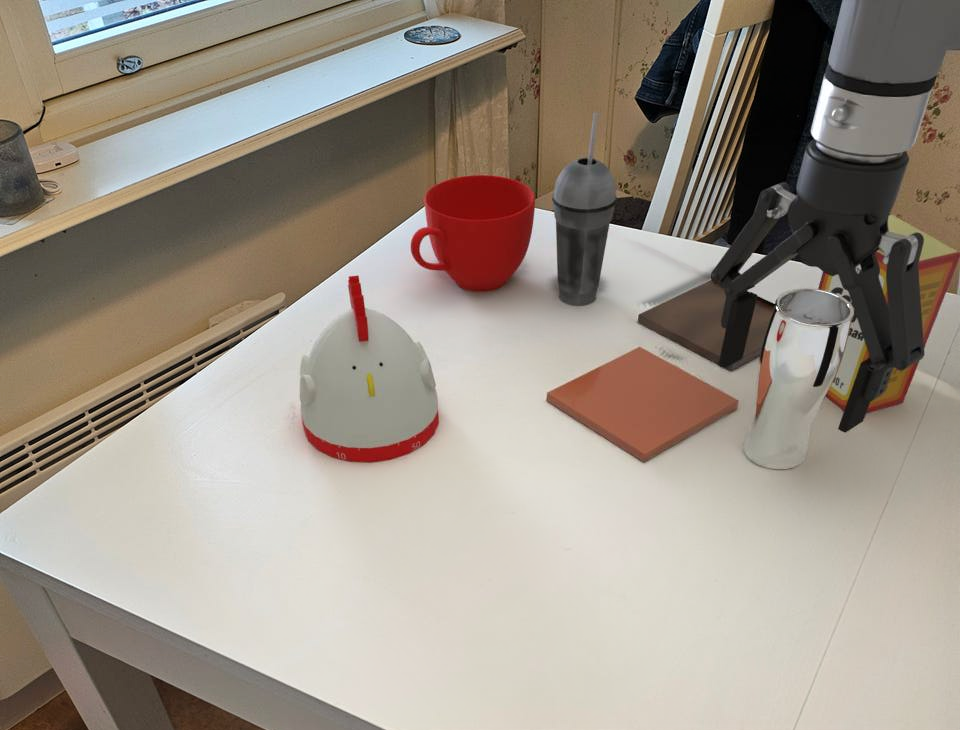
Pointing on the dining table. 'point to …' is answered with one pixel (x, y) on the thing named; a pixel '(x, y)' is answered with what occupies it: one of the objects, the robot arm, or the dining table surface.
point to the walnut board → (705, 322)
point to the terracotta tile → (642, 403)
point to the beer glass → (796, 373)
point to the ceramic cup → (477, 229)
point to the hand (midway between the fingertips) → (787, 392)
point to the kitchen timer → (367, 387)
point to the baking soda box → (933, 283)
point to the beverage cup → (582, 224)
